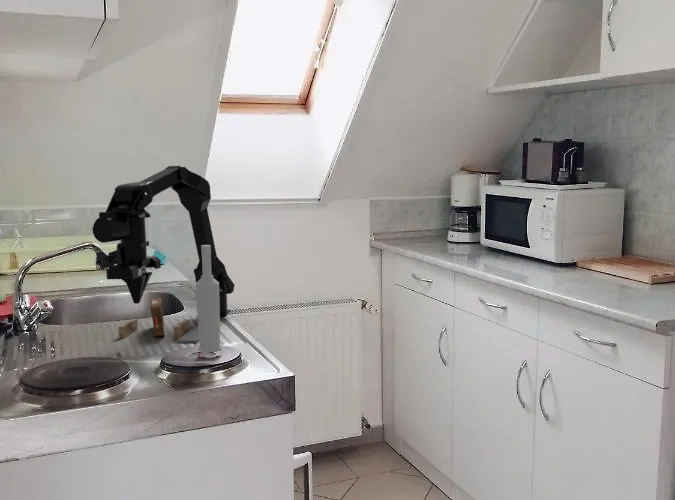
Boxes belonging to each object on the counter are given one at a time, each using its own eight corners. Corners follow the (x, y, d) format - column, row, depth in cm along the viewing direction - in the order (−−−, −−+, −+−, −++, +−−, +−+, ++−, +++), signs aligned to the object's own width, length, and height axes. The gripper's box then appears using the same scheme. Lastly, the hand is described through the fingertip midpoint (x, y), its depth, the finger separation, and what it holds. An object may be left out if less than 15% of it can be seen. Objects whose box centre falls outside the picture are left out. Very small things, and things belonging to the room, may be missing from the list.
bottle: (226, 353, 159) (222, 244, 156) (214, 359, 154) (210, 247, 151) (206, 351, 160) (201, 244, 157) (194, 357, 156) (189, 246, 153)
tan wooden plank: (133, 329, 183) (132, 318, 183) (190, 330, 182) (189, 319, 181) (119, 338, 174) (118, 326, 174) (178, 339, 173) (178, 327, 172)
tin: (164, 339, 173) (163, 306, 172) (151, 340, 172) (150, 306, 171) (164, 326, 188) (162, 295, 187) (152, 326, 187) (150, 296, 186)
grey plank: (197, 327, 185) (197, 325, 185) (215, 327, 184) (215, 325, 184) (177, 342, 169) (177, 340, 169) (197, 342, 169) (197, 340, 169)
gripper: (117, 234, 174) (120, 295, 176) (82, 242, 156) (86, 311, 158) (160, 234, 173) (163, 296, 175) (130, 242, 155) (133, 311, 156)
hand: (136, 303), depth 166 cm, fingers closed
